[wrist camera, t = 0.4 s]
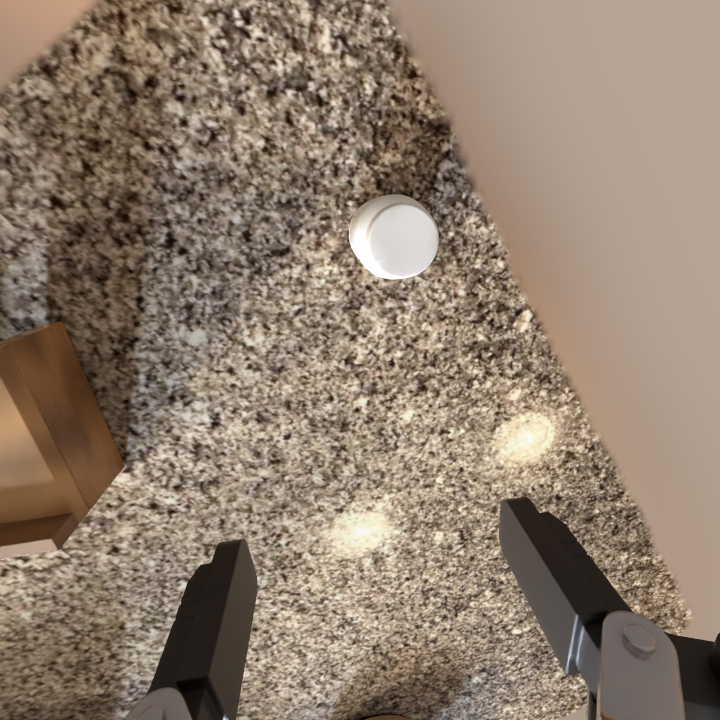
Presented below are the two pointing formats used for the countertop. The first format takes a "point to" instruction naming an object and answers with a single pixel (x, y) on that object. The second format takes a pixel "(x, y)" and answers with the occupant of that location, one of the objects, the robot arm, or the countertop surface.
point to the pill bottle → (394, 236)
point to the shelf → (48, 442)
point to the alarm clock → (388, 717)
